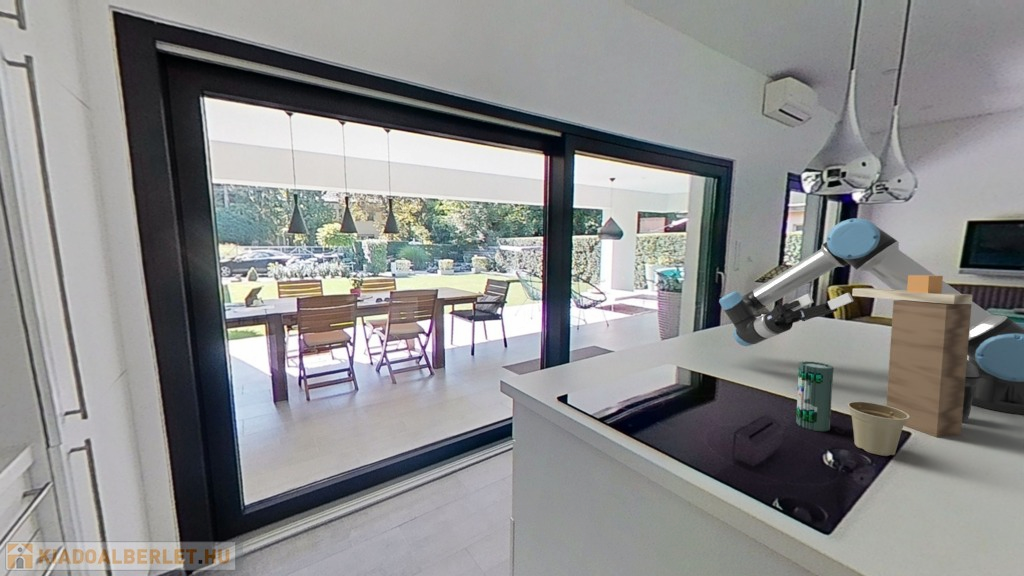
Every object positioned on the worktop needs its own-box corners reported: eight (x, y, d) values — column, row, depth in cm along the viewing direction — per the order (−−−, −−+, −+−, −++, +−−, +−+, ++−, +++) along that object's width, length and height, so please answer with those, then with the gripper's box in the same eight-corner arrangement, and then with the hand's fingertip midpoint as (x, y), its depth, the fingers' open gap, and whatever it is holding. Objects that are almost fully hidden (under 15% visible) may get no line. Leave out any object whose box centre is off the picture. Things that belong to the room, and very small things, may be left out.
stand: (908, 416, 96) (916, 299, 93) (960, 434, 86) (971, 304, 84) (885, 418, 94) (893, 300, 92) (936, 437, 85) (946, 305, 82)
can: (792, 419, 95) (795, 360, 94) (820, 421, 93) (824, 362, 92) (803, 429, 89) (807, 367, 88) (834, 432, 87) (838, 369, 86)
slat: (867, 295, 103) (867, 288, 103) (971, 303, 83) (972, 294, 83) (852, 295, 103) (852, 288, 102) (953, 304, 82) (954, 295, 82)
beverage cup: (943, 422, 92) (949, 342, 91) (924, 411, 99) (930, 336, 97) (984, 427, 89) (992, 344, 88) (962, 415, 96) (968, 338, 95)
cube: (920, 291, 91) (921, 275, 91) (941, 292, 87) (942, 275, 87) (907, 291, 91) (908, 275, 90) (927, 293, 87) (929, 276, 86)
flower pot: (920, 463, 74) (923, 420, 73) (864, 458, 76) (867, 417, 75) (883, 440, 83) (886, 402, 82) (834, 437, 85) (836, 400, 84)
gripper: (736, 314, 125) (788, 286, 106) (800, 312, 129) (860, 284, 111) (744, 335, 122) (799, 310, 103) (809, 332, 126) (873, 308, 107)
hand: (830, 297), depth 107 cm, fingers open, 13 cm apart
